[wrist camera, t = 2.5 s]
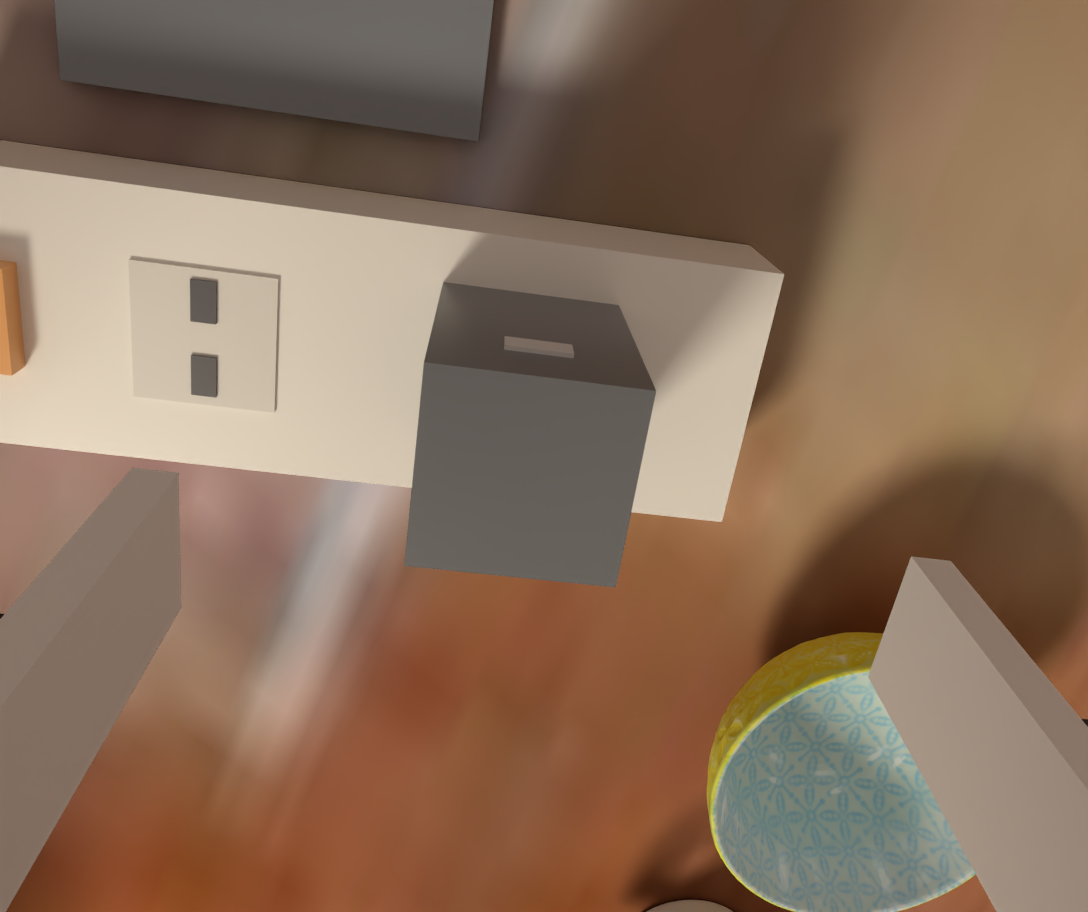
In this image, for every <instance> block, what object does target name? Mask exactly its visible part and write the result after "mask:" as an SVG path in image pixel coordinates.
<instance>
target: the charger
mask: <svg viewBox="0 0 1088 912" xmlns="http://www.w3.org/2000/svg"><path fill="white" fill-rule="evenodd" d="M655 395H656V389H655V387H654V385H653V382H652V380H651V378H650V375H649V373H648V371H647V369H646V366H645V364H644V362H643V359H642V357H641V355H640V352H639V350H638V348H637V346H636V343H635V341H634V339H633V336H632V334H631V332H630V330H629V327H628V325H627V323H626V320H625V318H624V316H623V314H622V311H621V309H620V307H619V305H614V304H606V303H599V302H591V301H584V300H576V299H568V298H561V297H553V296H546V295H538V294H531V293H523V292H515V291H508V290H500V289H493V288H485V287H478V286H470V285H462V284H455V283H447V282H443V285H442V289H441V293H440V297H439V301H438V306H437V310H436V314H435V318H434V322H433V326H432V331H431V335H430V339H429V343H428V347H427V351H426V356H425V360H424V366H423V377H422V387H421V397H420V408H419V418H418V429H417V439H416V449H415V460H414V470H413V481H412V491H411V501H410V512H409V522H408V532H407V543H406V553H405V564H404V566H411V567H421V568H431V569H441V570H450V571H460V572H470V573H480V574H490V575H499V576H509V577H519V578H529V579H539V580H549V581H558V582H568V583H578V584H588V585H598V586H607V587H616V584H617V579H618V574H619V569H620V564H621V559H622V555H623V550H624V545H625V540H626V535H627V530H628V525H629V521H630V516H631V511H632V506H633V501H634V496H635V492H636V487H637V482H638V477H639V472H640V467H641V463H642V458H643V453H644V448H645V443H646V438H647V434H648V429H649V424H650V419H651V414H652V409H653V404H654V400H655Z"/></svg>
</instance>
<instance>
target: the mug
mask: <svg viewBox="0 0 1088 912" xmlns="http://www.w3.org/2000/svg"><path fill="white" fill-rule="evenodd" d="M646 912H733V911H731V910H730V909H728V908H726V907H724V906H722V905H720V904H717V903H713V902H709V901H703V900H680V901H674V902H669V903H665V904H662V905H659V906H657V907H654V908H652V909H650V910H648V911H646Z"/></svg>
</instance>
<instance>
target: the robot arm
mask: <svg viewBox="0 0 1088 912" xmlns="http://www.w3.org/2000/svg"><path fill="white" fill-rule="evenodd" d="M180 609H181V566H180V519H179V473H175V472H167V471H158V470H149V469H140V468H132V469H131V470H130V471H129V472H128V473H127V474H126V476H125V477H124V478H123V479H122V480H121V481H120V482H119V484H118V485H117V486H116V487H115V488H114V489H113V491H112V492H111V493H110V494H109V495H108V496H107V497H106V499H105V500H104V501H103V502H102V503H101V504H100V505H99V507H98V508H97V509H96V510H95V511H94V512H93V513H92V515H91V516H90V517H89V518H88V519H87V520H86V521H85V523H84V524H83V525H82V526H81V527H80V528H79V530H78V531H77V532H76V533H75V534H74V535H73V536H72V538H71V539H70V540H69V541H68V542H67V543H66V544H65V546H64V547H63V548H62V549H61V550H60V551H59V552H58V554H57V555H56V556H55V557H54V558H53V559H52V560H51V562H50V563H49V564H48V565H47V566H46V567H45V569H44V570H43V571H42V572H41V573H40V574H39V575H38V577H37V578H36V579H35V580H34V581H33V582H32V583H31V585H30V586H29V587H28V588H27V589H26V590H25V591H24V593H23V594H22V595H21V596H20V597H19V598H18V599H17V601H16V602H15V603H14V604H13V605H12V606H11V608H10V609H9V610H8V611H7V612H6V613H5V614H0V912H6V911H7V909H8V907H9V905H10V904H11V902H12V900H13V899H14V897H15V895H16V893H17V892H18V890H19V888H20V886H21V885H22V883H23V881H24V879H25V878H26V876H27V874H28V873H29V871H30V869H31V867H32V866H33V864H34V862H35V860H36V859H37V857H38V855H39V853H40V852H41V850H42V848H43V846H44V845H45V843H46V841H47V840H48V838H49V836H50V834H51V833H52V831H53V829H54V827H55V826H56V824H57V822H58V820H59V819H60V817H61V815H62V813H63V812H64V810H65V808H66V807H67V805H68V803H69V801H70V800H71V798H72V796H73V794H74V793H75V791H76V789H77V787H78V786H79V784H80V782H81V781H82V779H83V777H84V775H85V774H86V772H87V770H88V768H89V767H90V765H91V763H92V761H93V760H94V758H95V756H96V754H97V753H98V751H99V749H100V748H101V746H102V744H103V742H104V741H105V739H106V737H107V735H108V734H109V732H110V730H111V728H112V727H113V725H114V723H115V722H116V720H117V718H118V716H119V715H120V713H121V711H122V709H123V708H124V706H125V704H126V702H127V701H128V699H129V697H130V695H131V694H132V692H133V690H134V689H135V687H136V685H137V683H138V682H139V680H140V678H141V676H142V675H143V673H144V671H145V669H146V668H147V666H148V664H149V662H150V661H151V659H152V657H153V656H154V654H155V652H156V650H157V649H158V647H159V645H160V643H161V642H162V640H163V638H164V636H165V635H166V633H167V631H168V630H169V628H170V626H171V624H172V623H173V621H174V619H175V617H176V616H177V614H178V612H179V610H180ZM868 678H869V680H870V682H871V683H872V685H873V687H874V689H875V691H876V693H877V694H878V696H879V698H880V700H881V702H882V704H883V705H884V707H885V709H886V711H887V713H888V715H889V716H890V718H891V720H892V722H893V724H894V725H895V727H896V729H897V731H898V733H899V735H900V736H901V738H902V740H903V742H904V744H905V746H906V747H907V749H908V751H909V753H910V755H911V757H912V758H913V760H914V762H915V764H916V766H917V767H918V769H919V771H920V773H921V775H922V777H923V778H924V780H925V782H926V784H927V786H928V788H929V789H930V791H931V793H932V795H933V797H934V799H935V800H936V802H937V804H938V806H939V808H940V809H941V811H942V813H943V815H944V817H945V819H946V820H947V822H948V824H949V826H950V828H951V830H952V831H953V833H954V835H955V837H956V839H957V841H958V842H959V844H960V846H961V848H962V850H963V851H964V853H965V855H966V857H967V859H968V861H969V862H970V864H971V866H972V868H973V870H974V872H975V873H976V875H977V877H978V879H979V881H980V883H981V884H982V886H983V888H984V890H985V892H986V893H987V895H988V897H989V899H990V901H991V903H992V904H993V906H994V908H995V910H996V912H1088V720H1087V719H1081V718H1080V717H1079V716H1078V715H1077V713H1076V712H1075V711H1074V710H1073V708H1072V707H1071V706H1070V705H1069V704H1068V702H1067V701H1066V700H1065V699H1064V698H1063V696H1062V695H1061V694H1060V693H1059V691H1058V690H1057V689H1056V688H1055V687H1054V685H1053V684H1052V683H1051V682H1050V681H1049V679H1048V678H1047V677H1046V676H1045V674H1044V673H1043V672H1042V671H1041V670H1040V668H1039V667H1038V666H1037V665H1036V664H1035V662H1034V661H1033V660H1032V659H1031V657H1030V656H1029V655H1028V654H1027V653H1026V651H1025V650H1024V649H1023V648H1022V647H1021V645H1020V644H1019V643H1018V642H1017V640H1016V639H1015V638H1014V637H1013V636H1012V634H1011V633H1010V632H1009V631H1008V630H1007V628H1006V627H1005V626H1004V625H1003V623H1002V622H1001V621H1000V620H999V619H998V617H997V616H996V615H995V614H994V613H993V611H992V610H991V609H990V608H989V606H988V605H987V604H986V603H985V602H984V600H983V599H982V598H981V597H980V596H979V594H978V593H977V592H976V591H975V590H974V588H973V587H972V586H971V585H970V583H969V582H968V581H967V580H966V579H965V577H964V576H963V575H962V574H961V573H960V571H959V570H958V569H957V568H956V566H955V565H954V564H953V563H952V562H951V561H948V560H939V559H930V558H921V557H913V556H911V558H910V561H909V564H908V567H907V569H906V572H905V575H904V578H903V581H902V583H901V586H900V589H899V592H898V594H897V597H896V600H895V603H894V606H893V608H892V611H891V614H890V617H889V620H888V622H887V625H886V628H885V631H884V633H883V636H882V639H881V642H880V645H879V647H878V650H877V653H876V656H875V658H874V661H873V664H872V667H871V670H870V672H869V675H868Z"/></svg>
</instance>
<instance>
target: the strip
mask: <svg viewBox="0 0 1088 912" xmlns="http://www.w3.org/2000/svg"><path fill="white" fill-rule="evenodd" d="M783 278H784V274H783V273H782V272H781V271H780V270H779V269H777V268H776V267H775V266H774V265H773V264H771V263H770V262H769V261H768V260H767V259H765V258H764V257H763V256H762V255H761V254H760V253H758V252H757V251H756V250H755V249H754V248H752V247H751V246H750V245H744V244H737V243H730V242H723V241H715V240H708V239H701V238H694V237H687V236H680V235H673V234H666V233H658V232H651V231H644V230H637V229H630V228H623V227H616V226H609V225H602V224H594V223H587V222H580V221H573V220H566V219H559V218H552V217H545V216H537V215H530V214H523V213H516V212H509V211H502V210H495V209H488V208H481V207H473V206H466V205H459V204H452V203H445V202H438V201H431V200H424V199H416V198H409V197H402V196H395V195H388V194H381V193H374V192H367V191H360V190H352V189H345V188H338V187H331V186H324V185H317V184H310V183H303V182H295V181H288V180H281V179H274V178H267V177H260V176H253V175H246V174H238V173H231V172H224V171H217V170H210V169H203V168H196V167H189V166H182V165H174V164H167V163H160V162H153V161H146V160H139V159H132V158H125V157H117V156H110V155H103V154H96V153H89V152H82V151H75V150H68V149H61V148H53V147H46V146H39V145H32V144H25V143H18V142H11V141H4V140H0V443H10V444H19V445H28V446H37V447H46V448H55V449H64V450H73V451H82V452H91V453H100V454H109V455H118V456H128V457H137V458H146V459H155V460H164V461H173V462H182V463H191V464H200V465H209V466H218V467H227V468H236V469H245V470H255V471H264V472H273V473H282V474H291V475H300V476H309V477H318V478H327V479H336V480H345V481H354V482H363V483H373V484H382V485H391V486H400V487H409V488H412V481H413V470H414V460H415V449H416V439H417V429H418V418H419V408H420V397H421V387H422V377H423V366H424V360H425V356H426V351H427V347H428V343H429V339H430V335H431V331H432V326H433V322H434V318H435V314H436V310H437V306H438V301H439V297H440V293H441V289H442V285H443V282H447V283H455V284H462V285H470V286H478V287H485V288H493V289H500V290H508V291H515V292H523V293H531V294H538V295H546V296H553V297H561V298H568V299H576V300H584V301H591V302H599V303H606V304H614V305H619V307H620V309H621V311H622V314H623V316H624V318H625V320H626V323H627V325H628V327H629V330H630V332H631V334H632V336H633V339H634V341H635V343H636V346H637V348H638V350H639V352H640V355H641V357H642V359H643V362H644V364H645V366H646V369H647V371H648V373H649V375H650V378H651V380H652V382H653V385H654V387H655V389H656V395H655V400H654V404H653V409H652V414H651V419H650V424H649V429H648V434H647V438H646V443H645V448H644V453H643V458H642V463H641V467H640V472H639V477H638V482H637V487H636V492H635V496H634V501H633V506H632V511H631V512H636V513H645V514H654V515H663V516H672V517H681V518H690V519H699V520H708V521H717V522H722V519H723V515H724V511H725V507H726V503H727V499H728V495H729V491H730V487H731V484H732V480H733V476H734V472H735V468H736V464H737V460H738V456H739V452H740V448H741V444H742V440H743V436H744V432H745V428H746V424H747V420H748V416H749V412H750V408H751V404H752V400H753V396H754V393H755V389H756V385H757V381H758V377H759V373H760V369H761V365H762V361H763V357H764V353H765V349H766V345H767V341H768V337H769V333H770V329H771V325H772V321H773V317H774V313H775V309H776V306H777V302H778V298H779V294H780V290H781V286H782V282H783Z"/></svg>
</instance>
